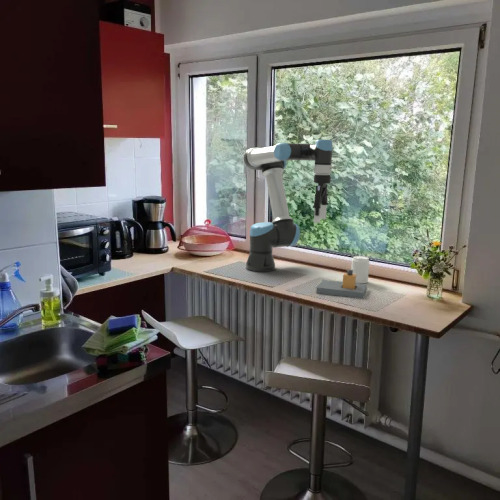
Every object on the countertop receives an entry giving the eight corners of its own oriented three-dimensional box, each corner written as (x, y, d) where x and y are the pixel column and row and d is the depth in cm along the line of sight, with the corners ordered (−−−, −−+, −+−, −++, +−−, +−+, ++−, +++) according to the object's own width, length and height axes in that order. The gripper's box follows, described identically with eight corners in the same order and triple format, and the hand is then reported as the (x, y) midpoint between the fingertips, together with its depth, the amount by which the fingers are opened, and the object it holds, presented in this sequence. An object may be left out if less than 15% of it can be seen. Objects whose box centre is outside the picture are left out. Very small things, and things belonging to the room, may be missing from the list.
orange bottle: (342, 292, 218) (343, 270, 216) (343, 290, 222) (345, 268, 220) (353, 294, 217) (355, 271, 215) (355, 291, 220) (356, 269, 218)
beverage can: (355, 284, 231) (356, 259, 229) (347, 280, 239) (348, 255, 237) (370, 284, 234) (372, 259, 231) (362, 279, 241) (364, 255, 239)
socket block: (316, 292, 217) (316, 287, 217) (322, 284, 230) (322, 279, 229) (362, 298, 211) (363, 292, 210) (366, 289, 224) (367, 284, 223)
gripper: (325, 176, 214) (322, 225, 218) (335, 173, 237) (332, 217, 241) (308, 175, 216) (305, 223, 221) (319, 172, 239) (317, 216, 244)
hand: (319, 220), depth 231 cm, fingers open, 13 cm apart
